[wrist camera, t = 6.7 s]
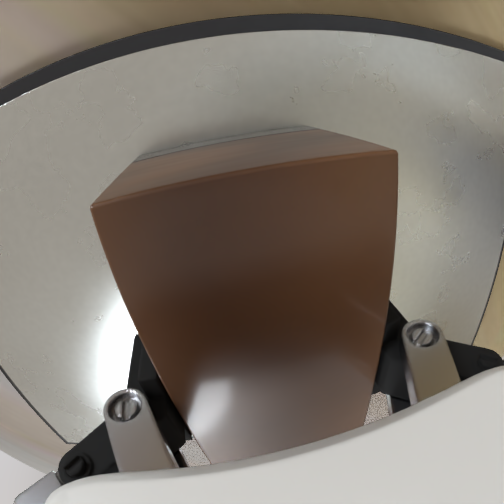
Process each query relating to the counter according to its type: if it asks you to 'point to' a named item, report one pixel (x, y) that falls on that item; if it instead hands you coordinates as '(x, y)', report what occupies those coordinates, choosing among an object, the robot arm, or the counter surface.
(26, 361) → the whiteboard
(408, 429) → the robot arm
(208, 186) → the eraser
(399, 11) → the counter surface
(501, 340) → the counter surface
